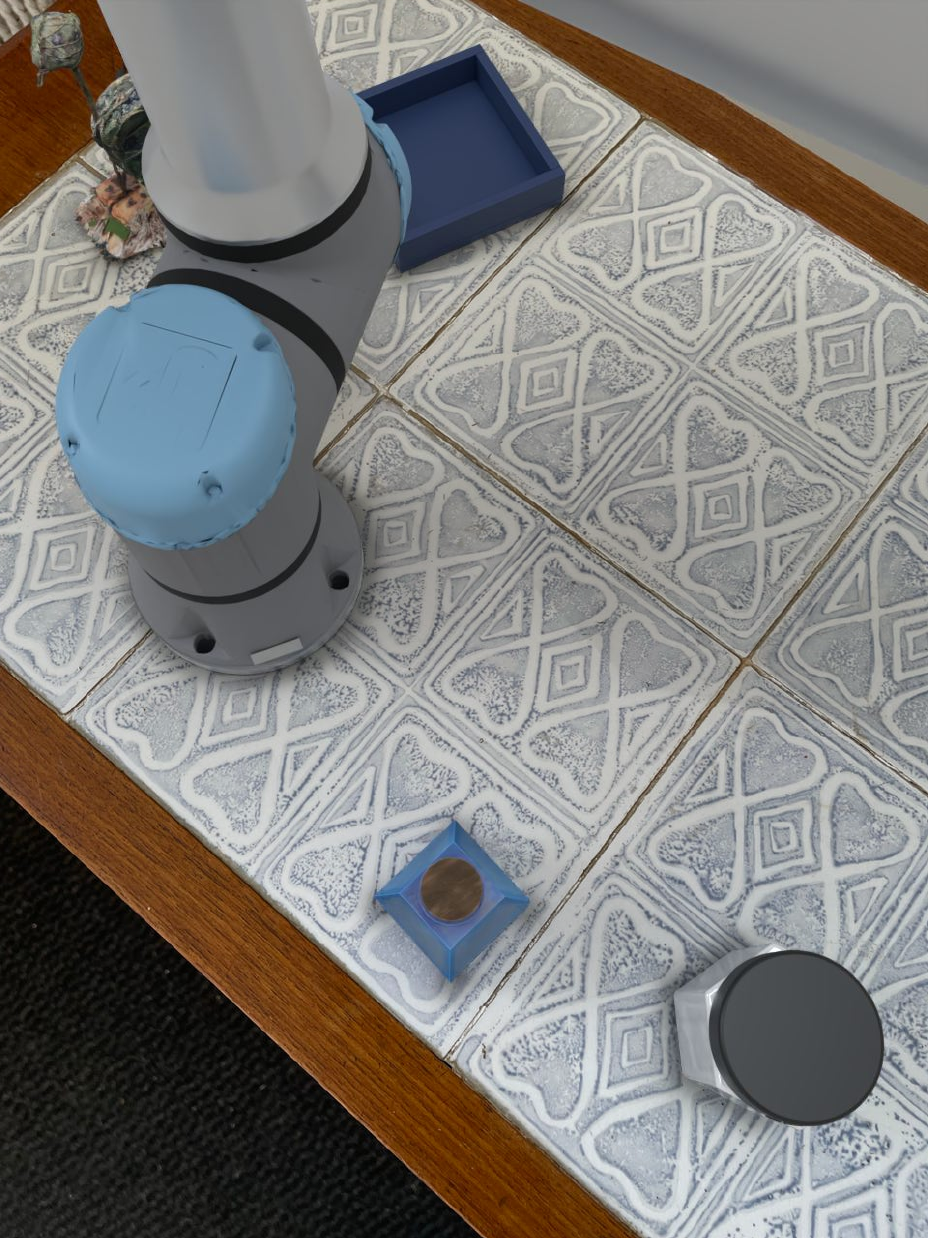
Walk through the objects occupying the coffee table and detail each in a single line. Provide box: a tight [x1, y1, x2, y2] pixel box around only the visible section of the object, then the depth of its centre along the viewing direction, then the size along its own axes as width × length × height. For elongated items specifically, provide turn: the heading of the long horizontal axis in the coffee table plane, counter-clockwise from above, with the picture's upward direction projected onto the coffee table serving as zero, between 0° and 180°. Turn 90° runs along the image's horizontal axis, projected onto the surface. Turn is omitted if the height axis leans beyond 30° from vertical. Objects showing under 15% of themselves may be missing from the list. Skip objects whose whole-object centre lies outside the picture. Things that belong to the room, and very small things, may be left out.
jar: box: [672, 942, 885, 1131], centre depth 60 cm, size 9×8×12 cm
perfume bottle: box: [373, 819, 532, 984], centre depth 62 cm, size 6×6×12 cm
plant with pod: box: [29, 11, 167, 263], centre depth 75 cm, size 8×11×20 cm
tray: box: [355, 43, 567, 273], centre depth 84 cm, size 14×14×3 cm
